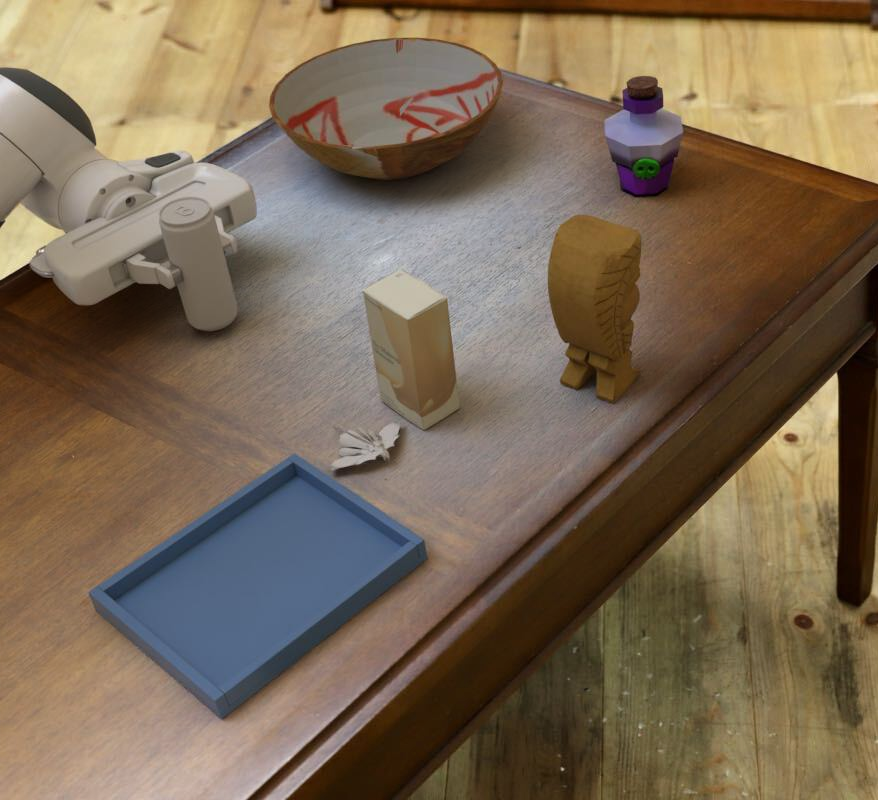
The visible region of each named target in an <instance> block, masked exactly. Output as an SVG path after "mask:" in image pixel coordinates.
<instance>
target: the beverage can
mask: <svg viewBox="0 0 878 800" xmlns="http://www.w3.org/2000/svg"><path fill="white" fill-rule="evenodd" d="M158 215H159V224H160V228H161V232H162V235H163V239H164V242H165V246H166V249H167V253H168V256H169V260H170V261H171V262H172V263H173V264H174V265H177V266H178V267H179V268H180V270H181V272H182V274H181V276H182V277H183V280H184V281H183V282H182V283H180V284H178V285H176V286H177V290H178V292H179V296H180V299H181V303H182V306H183V309H184V313H185V316H186V317H185V318H186V320H187V322H188V323H189V325H190V326H192V327H193V328H195V329H196V330H198V331H203V332H213V331H217V330H222V329H224V328H226V327H227V326H230V325H231V324H232V322H233V321H234V320H235V319H236V317H237V315H238V311H239V307H238V302H237V299H236V296H235V291H234V287H233V282H232V279H231V276H230V272H229V267H228V264H227V260H226V259H227V258H225V255H224V251H223V247H222V243H221V239H220V235H219V231H218V227H217V223H216V219H215V216H214V212H213V209H212V208H211V206H210V203H209V202H208V201H207V200H205V199H203V198H200V197H192V196H190V197H182V198H177V199H175V200H172V201H170V202H168V203H166V204H165V205H164V206H162V207H161V209H160V210H159V214H158Z"/></svg>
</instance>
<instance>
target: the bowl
mask: <svg viewBox="0 0 878 800" xmlns="http://www.w3.org/2000/svg"><path fill="white" fill-rule="evenodd" d="M503 81H504V80H503V74H502V72H501V70H500V69H499V67H498V65H497V64H496V62H494V61H493V60H492V59H491V58H490V57H488V56H487V54H484V53H483V52H481V51H478V50H476V49H475V48H473V47H470V46H467V45H464V44H461V43H459V42H454V41H450V40H444V39H439V38H427V37H388V38H380V39H378V38H377V39H371V40H365V41H361V42H355V43H351V44H348V45H344V46H341V47H336V48H333V49H330V50H328V51H325V52H323V53H320V54H318V55H317V54H316V55H315V56H313V57H311V58H309V59H307V60H305V61H303V62H301V63H299V64H298V65H297V66H295V67H294V68H292V69H291V70H290V71H288V72H287V73H285V74H284V76H283V77H281V79H280V80H278V82H277V83H276V84H275V86H274V88H273V89H272V92H271V93H270V95H269V102H268V109H269V110H270V115H271V117H272V119H273V120H274V121H275V123H276V124H277V125H278V126H279V128H280V129H281V130H282V131H283V132H284V134H285V135H286V136H287V137H288V138H289V139H290V141H292V142H293V143H294V144H295V146H297V148H299V149H300V150H302V151H303V152H304V153H306V154H307V155H308V156H310V157H311V158H313V159H314V160H316V161H317V162H319V163H321V164H323V165H325V166H327V167H328V168H331V169H333V170H335V171H337V172H340V173H343V174H347V175H351V176H356V177H362V178H366V179H372V180H373V179H375V180H381V181H383V180H402V179H408V178H413V177H415V176H418V175H422V174H425V173H426V172H429V171H430V170H432V169H435V168H437V167H439V166H440V165H441V166H442V165H443V164H446V163H447V162H449V161H450V160H452V159H453V158H455V157H457V156H458V155H459V154H461V153H462V152H463V151H464V150H465V149H466V148H467V147H468V146H469V145H470V144H471V143H472V142H473V141H474V140H475V139H476V138H477V137H478V136H479V134H480V133H481V131H482V130H483V129H484V128H485V126H486V124H487V122H488V121H489V120H490V117H491V116H492V115H493V112H494V110H495V108H496V106H497V103H498V102H499V98H500V96H501V92H502V88H503V85H504V82H503Z"/></svg>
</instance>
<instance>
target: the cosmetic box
mask: <svg viewBox="0 0 878 800" xmlns="http://www.w3.org/2000/svg"><path fill="white" fill-rule="evenodd" d="M362 295H363V301H364V306H365V313H366V319H367V326H368V332H369V338H370V343H371V349H372V355H373V361H374V368H375V374H376V380H377V386H378V392H379V398H380V401H382V402H383V403H385V405H387V406H388V407H389V408H390V409H392V410H394V411H395V412H396V413H397V414H399V415H400V416H402V417H403V418H404V419H406V420H407V421H409V422H411V423H412V424H413V425H415V426H416V427H418V428H419V429H420V430H422V431H425V430H428V428H430V427H432V426H434V425H435V424H437V423H438V422H440V421H442V420H443V419H445V418H447V417H448V416H450V415H451V414H453V413H454V412H457V411H458V410H459V409H460V407H461V405H460V398H459V397H460V396H459V387H458V379H457V372H456V364H455V353H454V346H453V345H454V344H453V337H452V327H451V321H450V312H449V311H450V310H449V303H448V297H447V295H445V294H444V293H442V292H440V291H438V290H437V289H436V288H434V287H432V286H431V285H429V284H428V283H427V282H426V281H423V280H422V279H420V278H418V277H416V276H414V275H413V274H411V273H410V272H408V271H407V270H405V269H404V268H402V267H401V268H397V269H396V270H394V271H392V272H391V273H388V274H387V275H385V276H383V277H382V278H379V279H378V280H376V281H374V282H372V283H371V284H369V285H367V286H366V287H364V288H363V289H362Z"/></svg>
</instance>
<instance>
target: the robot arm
mask: <svg viewBox="0 0 878 800" xmlns="http://www.w3.org/2000/svg"><path fill="white" fill-rule="evenodd" d="M91 121H92V120H91V119H90V117H89V116H88V115H87V113H86V112H85V111H84V109H83V108H82V107H81V106H80V104H79V103H78V102H77V101H75V100H74V98H72V97H71V96H70V95H69V94H68V93H66V92H65V91H64V90H62V88H60V87H58V86H57V85H56V84H53V83H52V82H50V81H49V80H48V79H46V78H43V77H42V76H40V75H38V74H36V73H35V72H32V71H31V70H29V69H26V68H19V67H9V66H8V67H7V66H6V67H5V66H2V67H0V229H1V228H2V227H3V226H4V224H5V223H6V219H7V218H9V216H10V215H11V214H12V213H13V212H14V211H15V209H16V208H17V207H18V206H19V205H22V206H23V208H25V209H26V210H27V211H29V213H31V214H33V215H34V216H35V217H36V218H38V219H40V220H41V221H43V222H44V223H45V224H47V225H48V226H50V227H53V228H55V229H57V230H61V231H63V232H64V234H62V235H60V236H58V237H56V238H54V239H53V240H51V241H50V242H48V243H47V244H46V245H45V244H44V245H43V246H41V247H39V248H38V249H37V250H35V255H34V256H33V257H31V259H30V260H29V267H30V268H31V270H32V271H33V272H35V273H36V274H38V275H39V276H40V277H43V278H49V279H51V278H52V281H53V283H54V284H55V286H56V287H57V288H58V289H59V290H60V291H61V292H62V293H63V294H64V296H66V297H67V298H68V299H69V300H70V301H72V302H73V303H74V304H76V305H77V306H93V305H96V304H98V303H100V302H101V301H103V300H105V299H108V298H109V297H110V296H113V295H115V294H117V293H119V292H120V291H122V290H124V289H126V288H128V287H129V286H131V285H133V284H135V283H137V284H141V285H143V284H144V285H161V286H163V287H165V288H166V289H168V290H170V289H171V290H172V289H173V288H174V287H176V286H177V285H178V284H180V283H182V282H183V281H184V280H183V277H182V276H181V274H182V272H181V270H180V268H179V267H178V266H177V265H174V264H173V263H172V262H171V261H170V260H169V256H168V253H167V249H166V246H165V242H164V239H163V235H162V232H161V228H160V224H159V215H158V214H159V210H160V209H161V207H162V206H164V205H165V204H166V203H168V202H170V201H172V200H175V199H177V198H182V197H190V196H192V197H200V198H203V199H205V200H207V201H208V202H209V203H210V206H211V208H212V209H213V212H214V216H215V219H216V223H217V227H218V231H219V235H220V239H221V243H222V247H223V251H224V255H225V259H227V258H229V257H230V256H233V255H235V254H237V253H238V252H239V250H238V245H237V241H236V239H235V238H234V237H233V235H231V234H230V233H231V232H233V231H234V230H237V229H238V228H240V227H242V226H244V225H245V224H247V223H249V222H251V221H253V220H255V218H257V214H258V208H257V200H256V196H255V192H254V189H253V187H252V184H251V183H250V182H249V181H248V180H247V179H246V178H244V177H241V176H240V175H238V174H236V173H234V172H233V171H230V170H228V169H225V168H223V167H221V166H218V165H216V164H213V163H210V162H195V160H194V158H193V156H192V154H191V153H190V152H188V151H185V150H181V149H180V150H179V149H178V150H174V151H173V150H172V151H169V152H165V153H162V154H159V155H155V156H150V157H145V158H139V159H127V160H121V161H119V160H116V159H111V158H108V157H107V156H106V155H105V154H104V153H102V152H101V151H100V150H99V149H97V148H96V146H97V137H96V133H95V130H94V128H93V124H92V122H91Z"/></svg>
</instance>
